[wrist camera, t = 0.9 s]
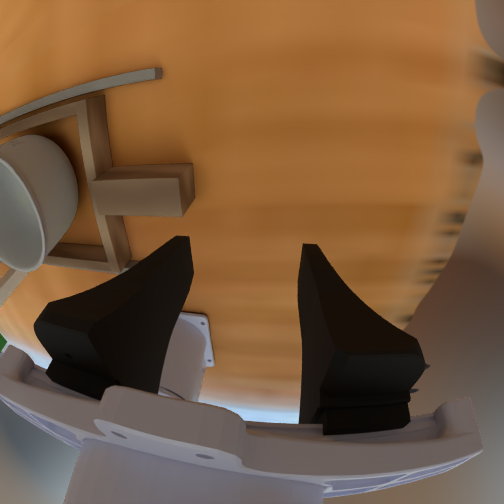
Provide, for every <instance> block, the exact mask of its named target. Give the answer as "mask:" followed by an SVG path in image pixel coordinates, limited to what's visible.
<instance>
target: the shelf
mask: <svg viewBox="0 0 504 504" xmlns="http://www.w3.org/2000/svg"><path fill="white" fill-rule="evenodd" d="M155 79H162V68H151V69H145V70H139V71H134V72H129V73H125V74H120V75H116V76H111V77H107V78H103V79H99V80H96V81H92V82H88V83H85V84H82V85H78V86H75V87H72V88H69V89H66V90H63V91H60V92H57V93H54V94H51V95H49V96H46V97H43V98H41V99H38V100H36V101H33V102H31V103H28V104H26V105H24V106H22V107H19V108H17V109H15V110H13V111H11V112H8V113H6V114H4V115H2V116H0V125H1V124H3V123H5V122H7V121H9V120H12V119H14V118H16V117H19V116H21V115H24V114H26V113H29V112H31V111H34V110H36V109H39V108H42V107H45V106H47V105H50V104H53V103H56V102H59V101H62V100H66V99H69V98H72V97H76V96H79V95H83V94H86V93H90V92H94V91H98V90H102V89H107V88H111V87H116V86H120V85H125V84H131V83H136V82H142V81H148V80H155ZM137 263H139V261H128V263H127V264H126V266H125V267H124V269H123V270H122V271H121V273H118V272H110V271H101V270H93V269H86V268H78V267H70V266H63V265H56V264H49V263H42V264H48V265H55V266H62V267H69V268H76V269H84V270H92V271H99V272H107V273H116V274H122V273H123V272H125V271H127V270H128V269H130V268H131V267H133V266H134V265H136V264H137ZM28 274H29V273H28V272H22V271H18V270H15V269H13V268H10V269H9V271H8V272H7V273H6V274H5V275H4V276H3V277H2V278H1V279H0V307H1V306H2V305H3V303H4V302H5V301H6V300H7V298H8V297H9V296H10V295H11V294H12V292H13V291H14V290H15V289H16V288H17V286H18V285H19V284H20V283H21V282H22V280H23V279H24V278H25V277H26V276H27V275H28Z"/></svg>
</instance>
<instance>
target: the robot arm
mask: <svg viewBox="0 0 504 504" xmlns="http://www.w3.org/2000/svg"><path fill="white" fill-rule="evenodd" d="M193 275H194V269H193V262H192V254H191V247H190V238H189V236H175V237H173V238H172V239H171V240H169V241H168V242H166V243H165V244H164V245H162V246H161V247H160V248H158V249H157V250H156V251H154V252H153V253H151V254H150V255H149V256H147V257H146V258H145V259H143V260H142V261H140V262H139V263H137V264H136V265H134V266H133V267H131V268H130V269H128V270H127V271H125V272H123V273H122V274H120V275H118V276H116V277H114V278H113V279H111V280H109V281H107V282H105V283H102V284H100V285H98V286H96V287H94V288H92V289H89V290H87V291H84V292H82V293H79V294H76V295H73V296H70V297H67V298H63V299H60V300H56V301H53V302H49V303H48V304H47V306H46V307H45V308H44V310H43V311H42V313H41V314H40V315H39V317H38V318H37V320H36V321H35V323H34V331H35V334H36V336H37V338H38V339H39V341H40V342H41V344H42V345H43V347H44V348H45V349H46V351H47V352H48V353H49V355H50V356H51V357H52V359H53V360H52V362H51V363H50V365H49V367H48V369H45V368H42V367H40V366H38V365H36V364H34V362H33V360H32V359H31V358H30V356H29V355H28V354H27V353H25V352H24V351H22V350H20V349H18V348H16V347H14V346H12V345H9V346H8V348H7V349H6V351H5V352H4V354H3V356H2V357H1V359H0V399H1V400H2V401H3V402H4V403H6V404H7V405H8V406H9V407H10V408H11V409H12V410H13V411H15V412H16V413H17V414H19V415H20V416H22V417H23V418H25V419H26V420H28V421H29V422H31V423H32V424H34V425H36V426H37V427H39V428H40V429H42V430H44V431H45V432H47V433H49V434H50V435H52V436H54V437H56V438H57V439H59V440H61V441H63V442H65V443H66V444H69V445H70V446H72V447H74V448H76V449H78V450H80V454H79V456H78V459H77V462H76V465H75V468H74V471H73V474H72V477H71V480H70V483H69V487H68V490H67V493H66V496H65V500H64V503H63V504H323V498H326V497H336V496H344V495H352V494H358V493H364V492H370V491H375V490H380V489H385V488H389V487H394V486H398V485H402V484H406V483H410V482H413V481H417V480H420V479H424V478H427V477H430V476H434V475H437V474H440V473H443V472H446V471H448V470H450V469H452V468H454V467H456V466H458V465H460V464H462V463H464V462H465V461H467V460H469V459H471V458H472V457H474V456H476V455H477V454H479V453H481V452H482V451H483V446H482V441H481V436H480V432H479V428H478V424H477V420H476V416H475V413H474V409H473V405H472V402H471V399H470V397H469V396H467V397H463V398H459V399H455V400H450V401H447V402H445V403H443V404H442V405H440V406H439V407H438V408H437V409H436V410H435V412H432V413H428V414H422V415H416V416H410V413H409V408H408V402H410V399H411V398H410V393H409V390H410V389H411V388H412V387H413V385H414V384H415V383H416V382H417V381H418V379H419V378H420V377H421V375H422V373H423V372H424V370H425V366H426V363H425V360H424V357H423V353H422V350H421V347H420V345H419V343H418V340H417V339H416V338H414V337H413V336H411V335H409V334H407V333H406V332H404V331H402V330H400V329H398V328H397V327H395V326H394V325H392V324H391V323H389V322H388V321H386V320H385V319H384V318H382V317H381V316H380V315H378V314H377V313H376V312H374V311H373V310H372V309H371V308H370V307H368V306H367V305H366V304H365V303H364V302H363V301H362V300H361V299H360V298H359V297H358V296H357V295H356V294H354V293H353V292H352V290H351V289H350V288H349V287H348V286H347V285H346V284H345V283H344V281H343V280H342V279H341V278H340V276H339V275H338V274H337V272H336V271H335V270H334V268H333V267H332V266H331V264H330V263H329V261H328V260H327V258H326V257H325V255H324V254H323V252H322V251H321V249H320V248H319V246H318V245H317V244H304V243H303V246H302V254H301V261H300V269H299V276H298V309H299V318H300V328H301V337H302V381H301V399H300V413H299V424H286V423H267V422H254V421H243V419H242V418H241V417H240V416H239V415H238V414H236V413H234V412H232V411H230V410H228V409H226V408H223V407H218V406H214V405H210V404H206V403H200V402H198V398H199V394H200V390H201V386H202V381H203V377H204V373H205V369H206V366H208V367H213V366H214V364H215V362H214V356H213V350H212V343H211V337H210V330H209V323H208V318H207V316H205V315H202V314H193V313H185V312H181V310H182V308H183V305H184V303H185V300H186V298H187V295H188V293H189V290H190V286H191V283H192V279H193Z"/></svg>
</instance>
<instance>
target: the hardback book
mask: <svg viewBox="0 0 504 504" xmlns="http://www.w3.org/2000/svg"><path fill="white" fill-rule="evenodd" d="M6 343H7V341H6V340H5V339H4V337H3V336H2V335H1V334H0V352H1V351H2V349H3V347H4V346H5V344H6Z"/></svg>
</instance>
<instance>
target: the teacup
mask: <svg viewBox="0 0 504 504" xmlns="http://www.w3.org/2000/svg"><path fill="white" fill-rule="evenodd" d="M77 207H78V184H77V179H76V176H75V173H74V169H73V167H72V165H71V163H70V161H69V159H68V157H67V156H66V154H65V153H64V152H63V151H62V149H61V148H60V147H59V146H58V145H57V144H56V143H54V142H53V141H52V140H50V139H48V138H46V137H43V136H40V135H25V136H21V137H18V138H15V139H13V140H10V141H8V142H6V143H4V144H2V145H0V263H1V262H4V263H5V264H6V265H8V266H9V267H11V268H13V269H15V270H18V271H22V272H31V271H34V270H36V269H38V268H39V267H40V266H41V264H42V263H43V261H44V259H45V257H46V256H47V255H48V254H49V252H50V251H51V250H52V249H53V248H54V246H55V245H56V244H57V243H58V242H59V240H60V239H61V238H62V236H63V235H64V234H65V233H66V231H67V230H68V228H69V227H70V225H71V224H72V222H73V219H74V217H75V214H76V211H77Z"/></svg>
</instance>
